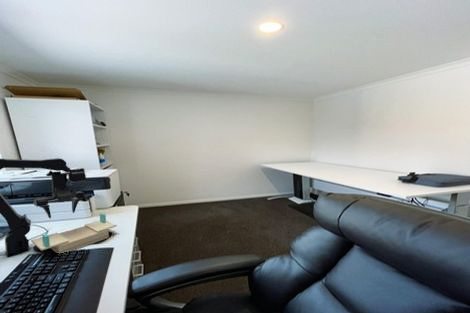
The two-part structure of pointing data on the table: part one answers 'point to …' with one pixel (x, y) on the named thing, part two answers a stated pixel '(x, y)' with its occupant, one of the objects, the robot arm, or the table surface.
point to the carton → (80, 239)
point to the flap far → (101, 224)
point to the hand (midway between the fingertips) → (62, 215)
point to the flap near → (49, 241)
